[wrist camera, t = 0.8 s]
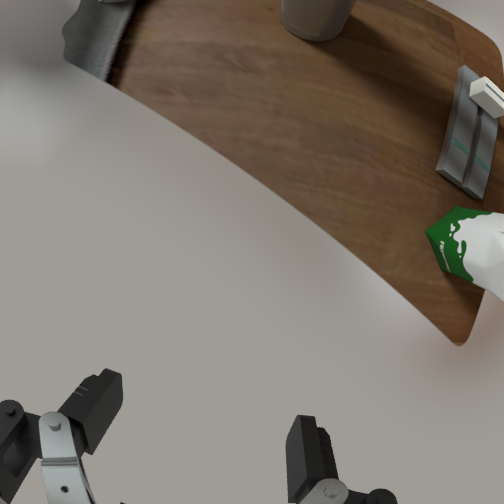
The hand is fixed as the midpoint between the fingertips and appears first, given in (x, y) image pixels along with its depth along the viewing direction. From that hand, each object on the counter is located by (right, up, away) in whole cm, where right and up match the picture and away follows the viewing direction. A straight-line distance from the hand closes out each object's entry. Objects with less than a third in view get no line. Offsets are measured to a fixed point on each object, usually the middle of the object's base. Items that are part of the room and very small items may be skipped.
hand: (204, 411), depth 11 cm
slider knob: (+38, +31, +19) cm, 52 cm away
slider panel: (+36, +26, +21) cm, 49 cm away
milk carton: (+31, +9, +25) cm, 41 cm away
